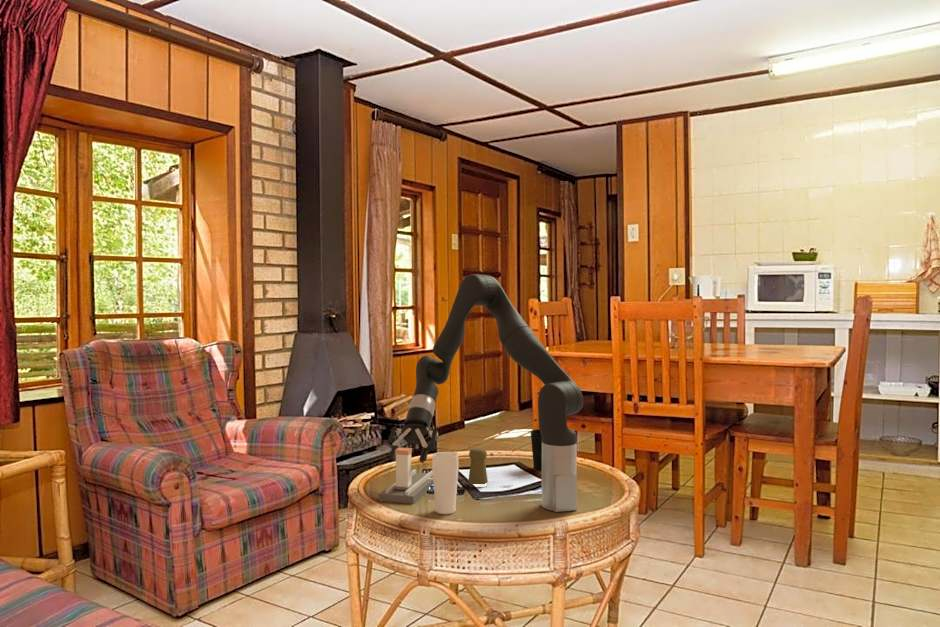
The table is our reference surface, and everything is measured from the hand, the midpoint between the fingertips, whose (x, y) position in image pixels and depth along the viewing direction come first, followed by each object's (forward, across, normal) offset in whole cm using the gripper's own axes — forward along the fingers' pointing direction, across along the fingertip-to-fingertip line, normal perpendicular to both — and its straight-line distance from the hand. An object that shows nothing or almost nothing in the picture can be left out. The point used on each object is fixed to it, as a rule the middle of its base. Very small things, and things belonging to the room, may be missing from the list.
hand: (407, 460), depth 200 cm
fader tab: (+7, 0, +3) cm, 8 cm away
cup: (-20, +32, +33) cm, 51 cm away
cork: (-3, +17, +16) cm, 24 cm away
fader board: (+4, 0, +9) cm, 10 cm away
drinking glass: (+16, +15, -2) cm, 22 cm away
